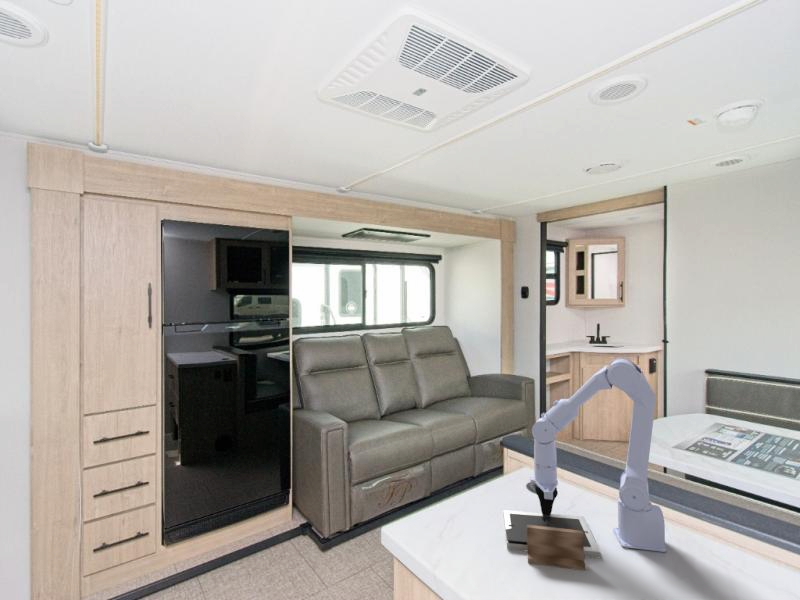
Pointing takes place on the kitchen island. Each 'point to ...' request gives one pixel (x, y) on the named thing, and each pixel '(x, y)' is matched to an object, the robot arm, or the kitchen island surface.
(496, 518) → the kitchen island surface
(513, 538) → the picture frame
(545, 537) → the walnut bookend
